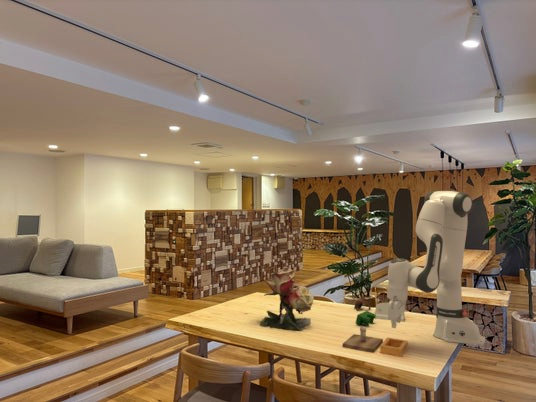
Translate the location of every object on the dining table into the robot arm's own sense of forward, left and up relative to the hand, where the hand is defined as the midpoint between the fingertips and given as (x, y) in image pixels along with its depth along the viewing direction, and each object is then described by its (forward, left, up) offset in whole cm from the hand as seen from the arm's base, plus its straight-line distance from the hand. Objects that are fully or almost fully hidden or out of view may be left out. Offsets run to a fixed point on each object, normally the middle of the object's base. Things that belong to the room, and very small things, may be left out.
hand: (396, 325), depth 179 cm
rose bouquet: (+59, -9, -10) cm, 60 cm away
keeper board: (+14, +5, -10) cm, 18 cm away
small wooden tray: (0, +5, -10) cm, 11 cm away
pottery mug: (+34, -58, -10) cm, 68 cm away
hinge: (+14, -46, -10) cm, 49 cm away
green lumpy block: (+22, -28, -10) cm, 37 cm away
